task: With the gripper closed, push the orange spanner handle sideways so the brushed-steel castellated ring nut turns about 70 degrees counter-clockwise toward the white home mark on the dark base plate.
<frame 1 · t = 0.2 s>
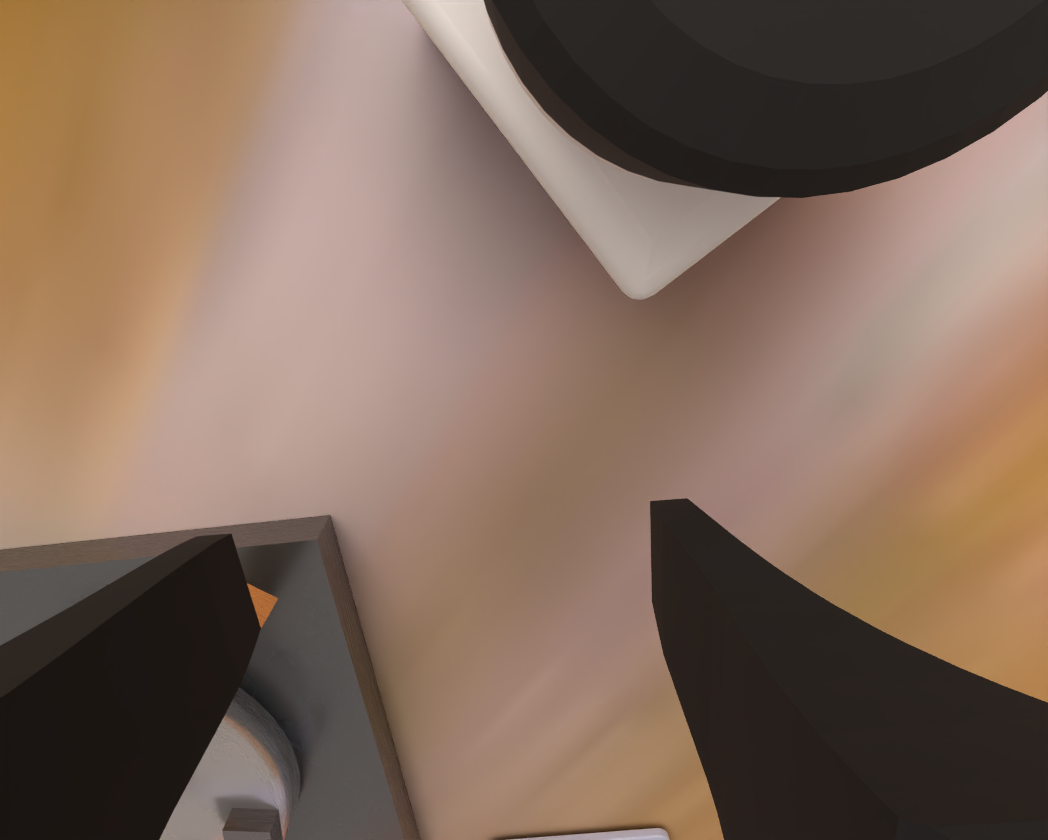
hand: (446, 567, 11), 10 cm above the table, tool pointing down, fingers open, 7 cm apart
container: (624, 39, 16), on the table
base plate: (166, 727, 25), on the table
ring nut: (116, 803, 20), point 5 cm above the table, hinge at 0.0°
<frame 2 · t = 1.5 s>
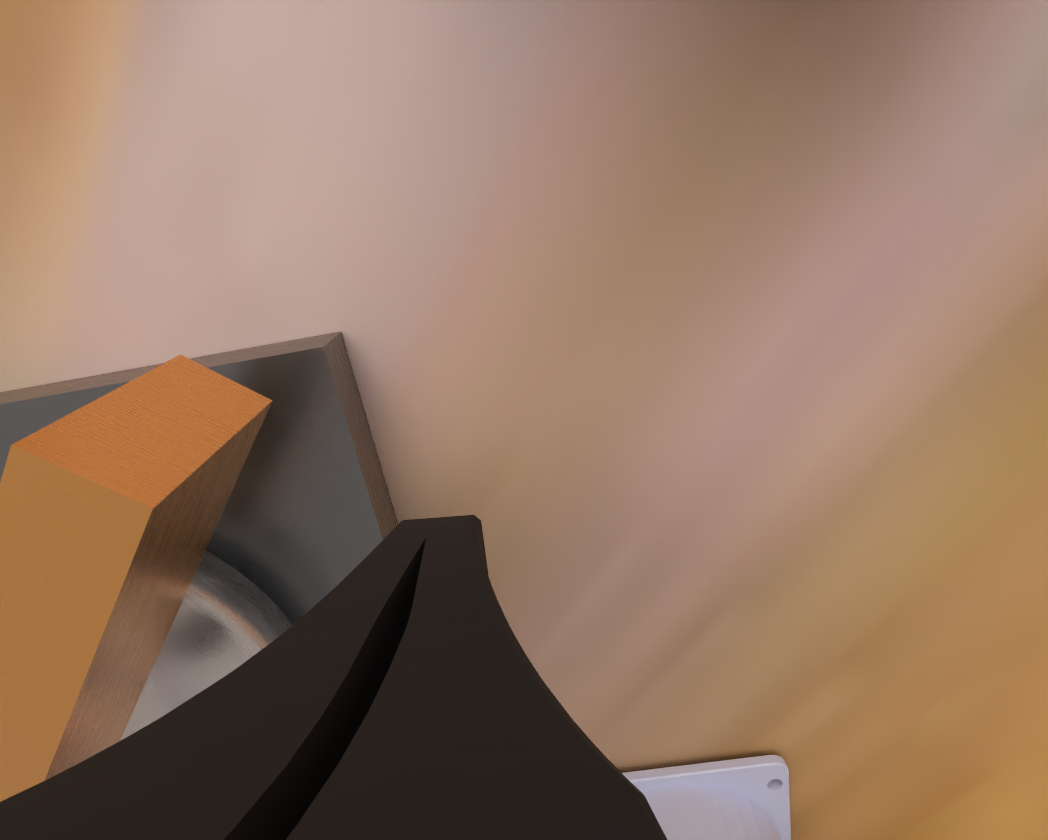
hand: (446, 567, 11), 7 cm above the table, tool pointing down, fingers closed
base plate: (153, 645, 20), on the table
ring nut: (72, 710, 15), point 5 cm above the table, hinge at 0.0°
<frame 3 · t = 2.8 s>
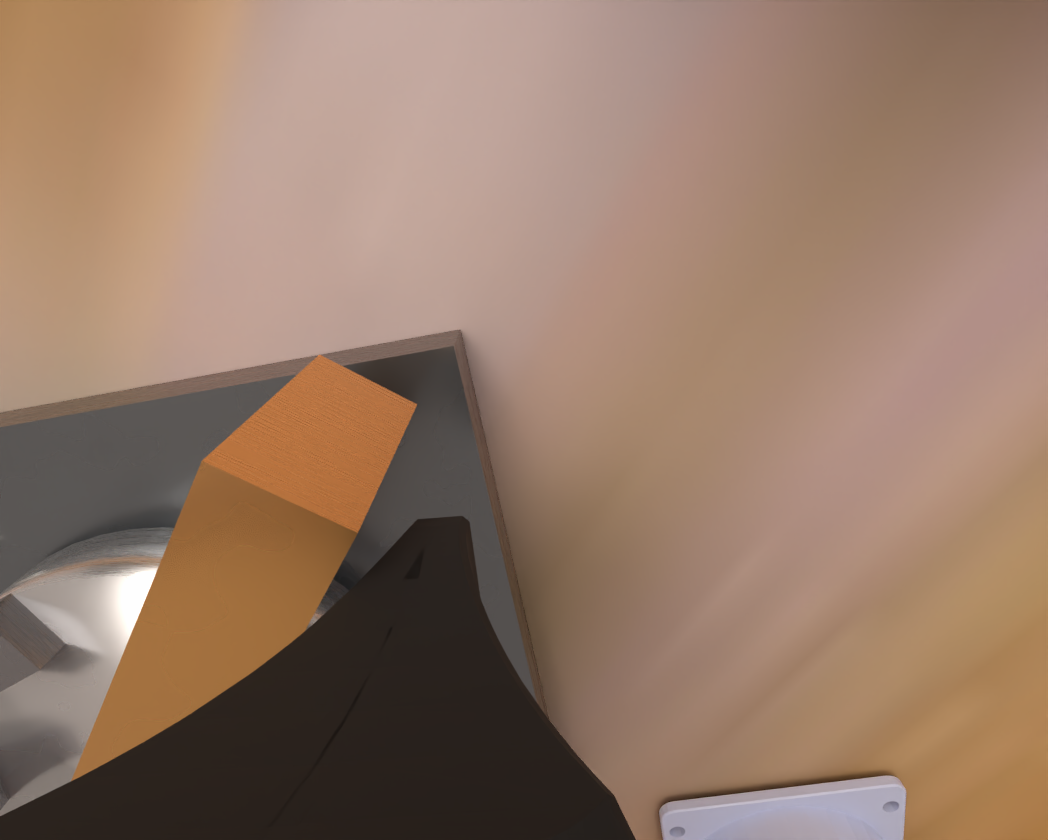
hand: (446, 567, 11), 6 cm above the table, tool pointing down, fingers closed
base plate: (238, 664, 19), on the table
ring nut: (185, 742, 14), point 5 cm above the table, hinge at 0.2°, touching gripper
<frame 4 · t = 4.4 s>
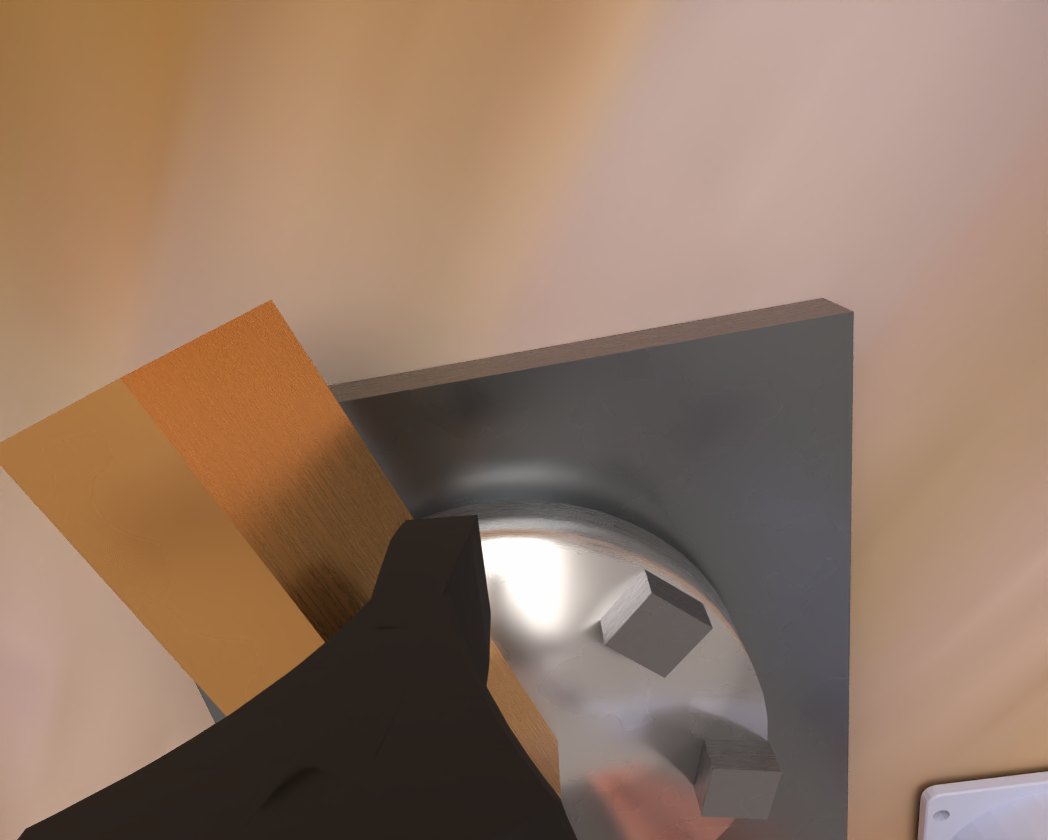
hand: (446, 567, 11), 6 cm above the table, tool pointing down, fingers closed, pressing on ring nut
base plate: (522, 645, 19), on the table
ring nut: (457, 713, 13), point 5 cm above the table, hinge at 56.1°, touching gripper
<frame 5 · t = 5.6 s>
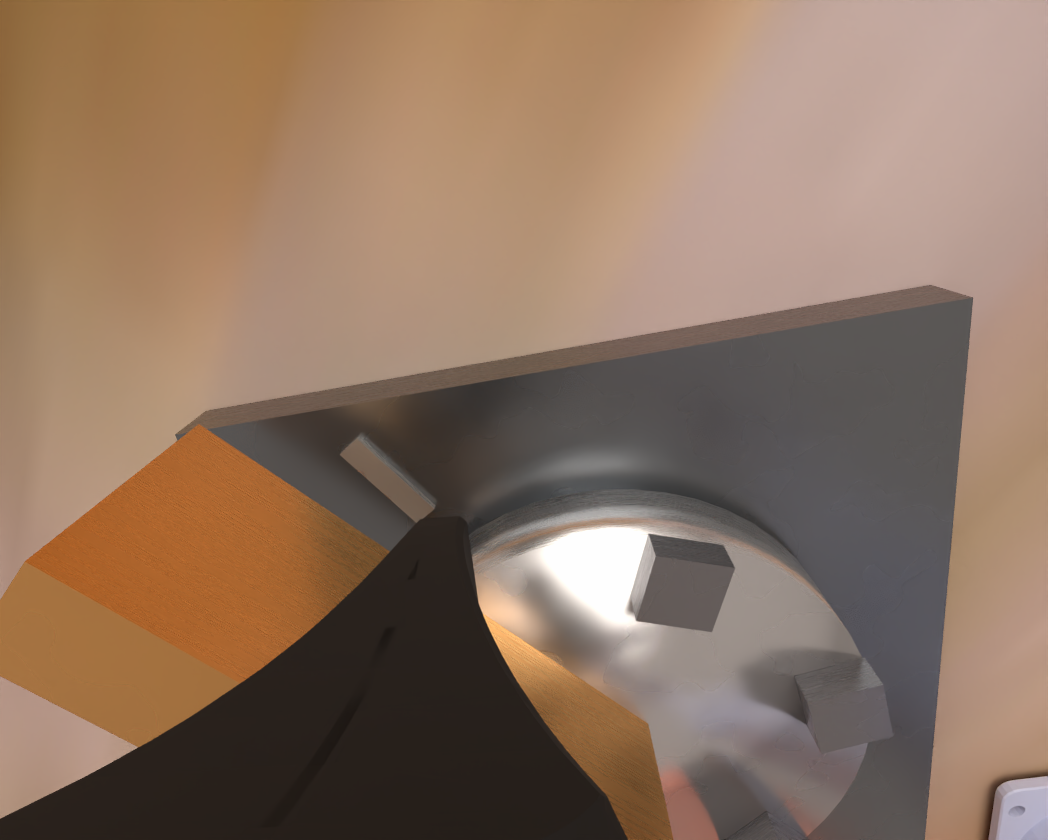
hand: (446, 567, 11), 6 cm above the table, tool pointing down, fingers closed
base plate: (601, 637, 19), on the table
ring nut: (524, 731, 13), point 5 cm above the table, hinge at 79.7°, touching gripper
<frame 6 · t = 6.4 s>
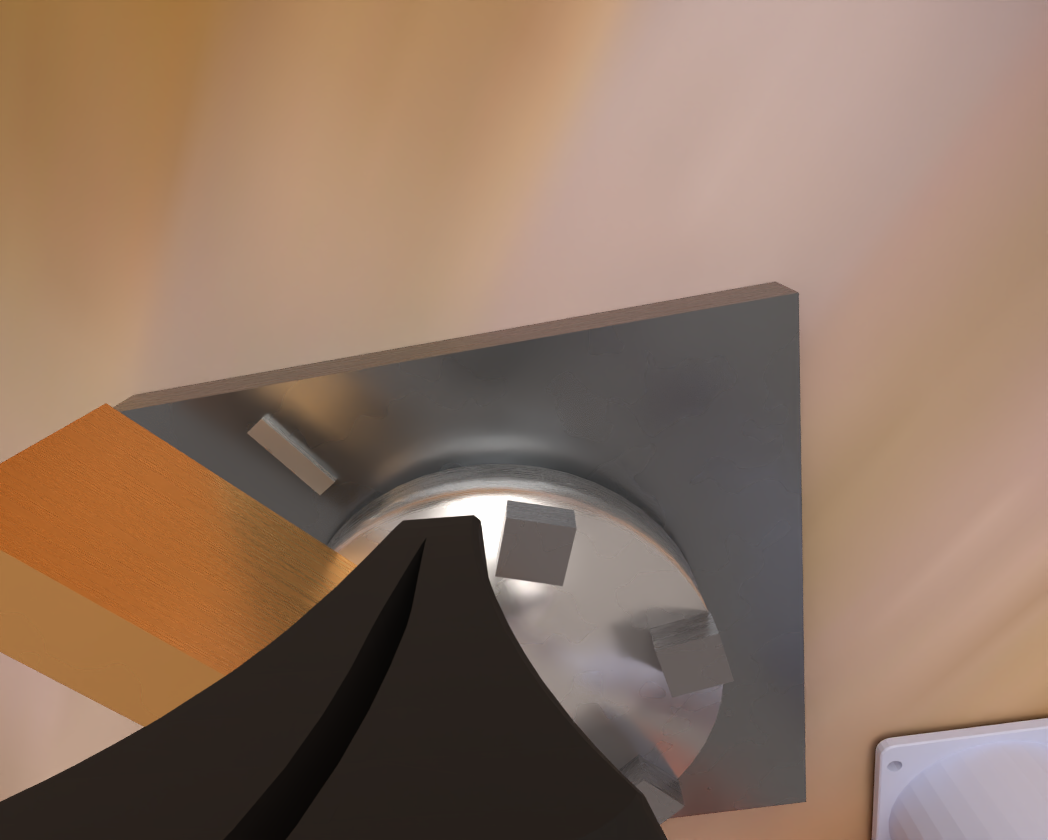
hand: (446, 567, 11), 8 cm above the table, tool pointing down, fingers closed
base plate: (505, 604, 20), on the table
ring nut: (402, 675, 15), point 5 cm above the table, hinge at 79.9°
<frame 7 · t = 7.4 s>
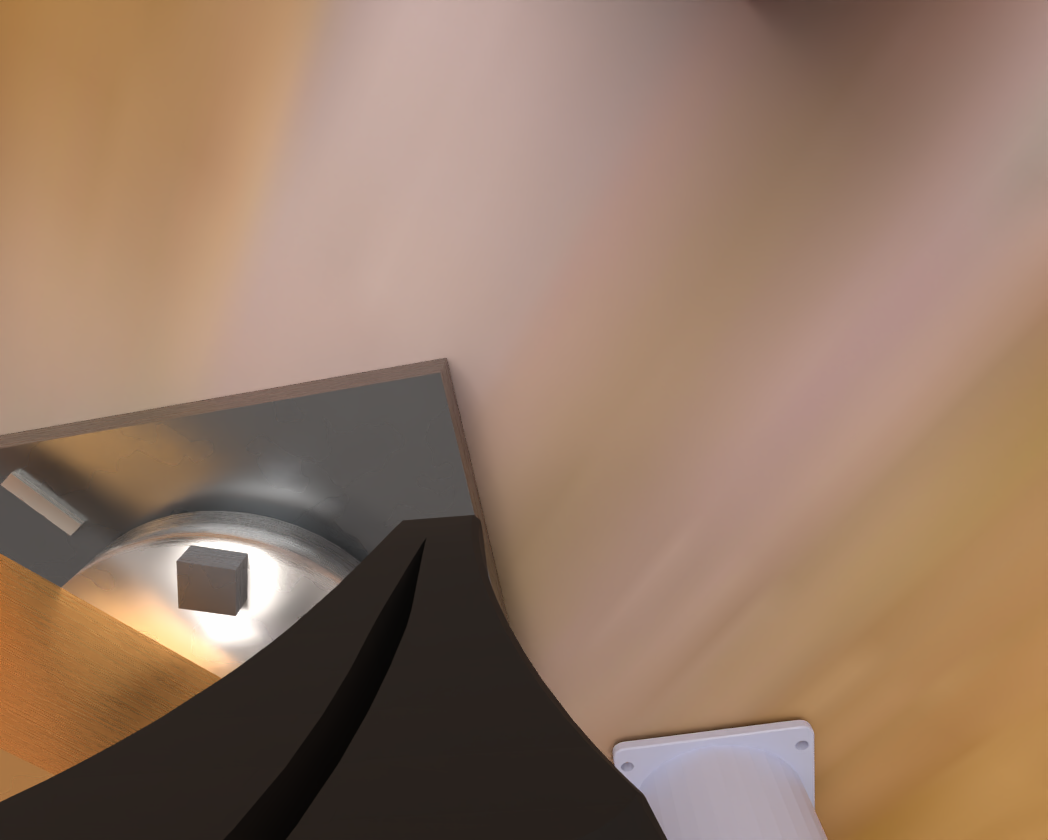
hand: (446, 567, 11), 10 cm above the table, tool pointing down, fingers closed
base plate: (267, 624, 24), on the table
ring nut: (110, 689, 18), point 5 cm above the table, hinge at 79.9°
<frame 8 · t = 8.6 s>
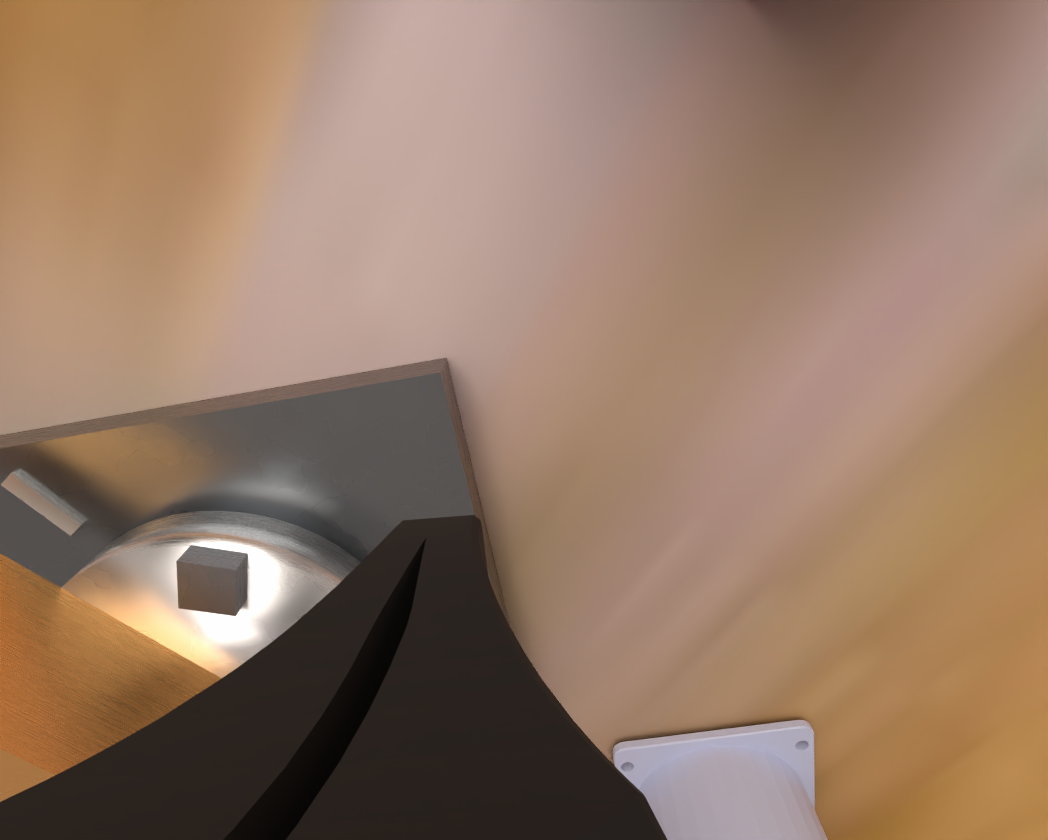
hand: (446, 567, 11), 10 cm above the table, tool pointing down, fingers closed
base plate: (267, 624, 24), on the table
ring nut: (110, 689, 18), point 5 cm above the table, hinge at 79.9°
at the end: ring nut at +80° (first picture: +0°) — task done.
